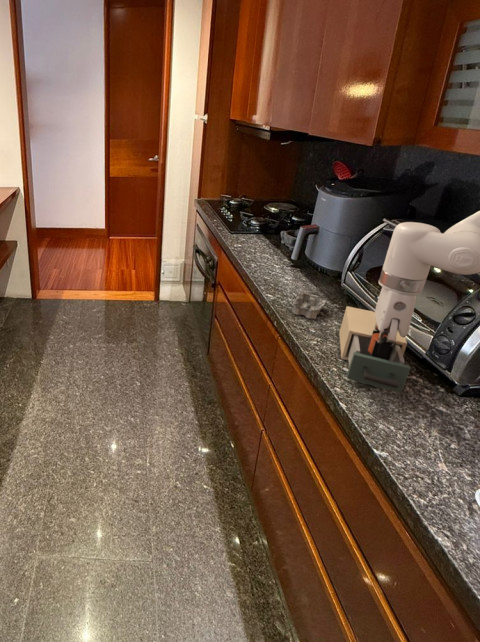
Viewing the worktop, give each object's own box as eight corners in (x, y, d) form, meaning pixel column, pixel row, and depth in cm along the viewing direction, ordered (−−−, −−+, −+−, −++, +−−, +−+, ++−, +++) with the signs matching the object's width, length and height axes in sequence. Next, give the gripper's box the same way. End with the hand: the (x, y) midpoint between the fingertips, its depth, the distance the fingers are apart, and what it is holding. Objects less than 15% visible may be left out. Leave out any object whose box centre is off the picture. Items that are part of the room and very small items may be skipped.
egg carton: (300, 300, 125) (302, 289, 123) (325, 308, 120) (328, 297, 118) (287, 312, 118) (290, 300, 116) (314, 321, 113) (317, 309, 111)
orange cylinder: (385, 349, 90) (390, 334, 89) (391, 359, 87) (396, 344, 85) (365, 346, 91) (369, 331, 90) (370, 356, 88) (375, 341, 86)
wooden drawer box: (396, 372, 92) (407, 343, 89) (341, 358, 97) (349, 330, 94) (388, 343, 103) (397, 316, 100) (339, 332, 108) (346, 306, 105)
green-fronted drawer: (404, 406, 81) (414, 380, 78) (347, 389, 86) (355, 365, 83) (392, 361, 95) (400, 338, 92) (344, 349, 99) (350, 327, 96)
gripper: (433, 301, 73) (404, 378, 80) (415, 269, 87) (392, 338, 94) (385, 293, 77) (362, 368, 84) (375, 263, 90) (356, 330, 97)
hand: (378, 351), depth 89 cm, fingers closed on orange cylinder, 4 cm apart
